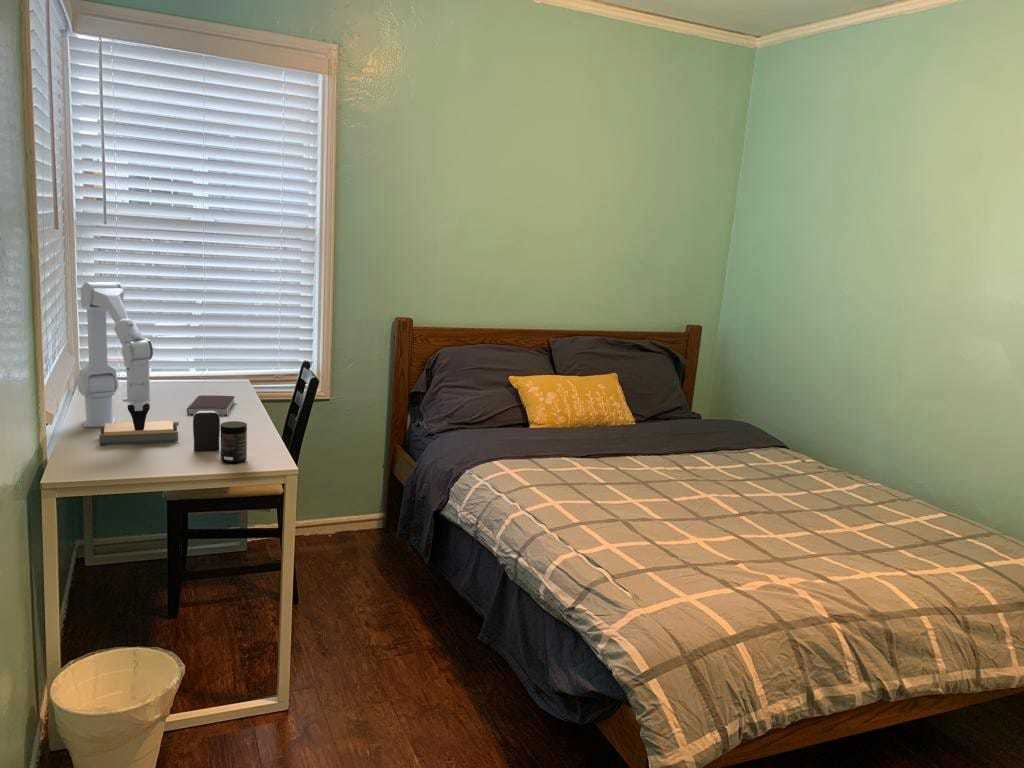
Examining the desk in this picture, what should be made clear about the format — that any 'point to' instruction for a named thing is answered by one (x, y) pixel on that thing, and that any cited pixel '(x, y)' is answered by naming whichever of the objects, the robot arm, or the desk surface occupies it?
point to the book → (211, 404)
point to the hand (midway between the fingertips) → (139, 429)
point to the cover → (129, 429)
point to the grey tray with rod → (138, 437)
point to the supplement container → (233, 442)
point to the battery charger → (206, 431)
